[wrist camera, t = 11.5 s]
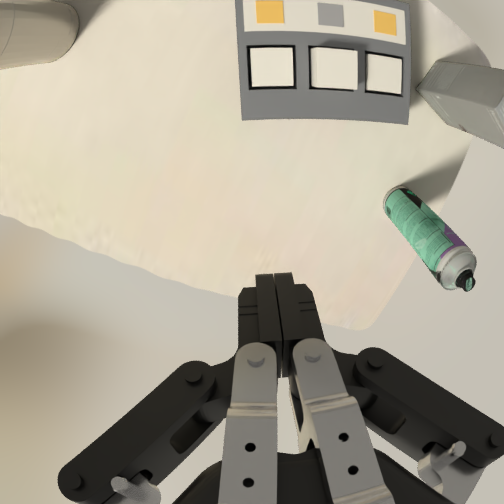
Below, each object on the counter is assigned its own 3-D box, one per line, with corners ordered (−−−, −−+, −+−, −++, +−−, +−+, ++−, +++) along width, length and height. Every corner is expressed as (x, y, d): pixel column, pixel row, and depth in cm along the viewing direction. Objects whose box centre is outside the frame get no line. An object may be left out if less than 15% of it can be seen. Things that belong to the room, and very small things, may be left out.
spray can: (395, 224, 45) (459, 311, 28) (376, 204, 43) (442, 292, 26) (418, 200, 42) (493, 279, 26) (400, 178, 40) (480, 256, 24)
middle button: (310, 85, 30) (317, 87, 27) (310, 49, 27) (316, 47, 25) (348, 87, 30) (357, 89, 27) (348, 51, 27) (357, 51, 25)
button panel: (241, 114, 35) (241, 120, 31) (235, -4, 26) (234, -15, 22) (390, 117, 35) (408, 125, 31) (391, 8, 26) (409, 3, 22)
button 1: (358, 87, 31) (367, 89, 29) (358, 54, 29) (368, 53, 27) (390, 91, 31) (400, 94, 29) (390, 59, 29) (401, 59, 27)
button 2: (251, 85, 31) (252, 86, 29) (249, 50, 29) (250, 48, 26) (289, 84, 31) (293, 85, 29) (288, 49, 29) (292, 47, 26)
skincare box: (413, 88, 33) (489, 110, 20) (437, 56, 30) (516, 67, 16) (447, 127, 36) (519, 164, 22) (470, 96, 32) (544, 123, 19)
